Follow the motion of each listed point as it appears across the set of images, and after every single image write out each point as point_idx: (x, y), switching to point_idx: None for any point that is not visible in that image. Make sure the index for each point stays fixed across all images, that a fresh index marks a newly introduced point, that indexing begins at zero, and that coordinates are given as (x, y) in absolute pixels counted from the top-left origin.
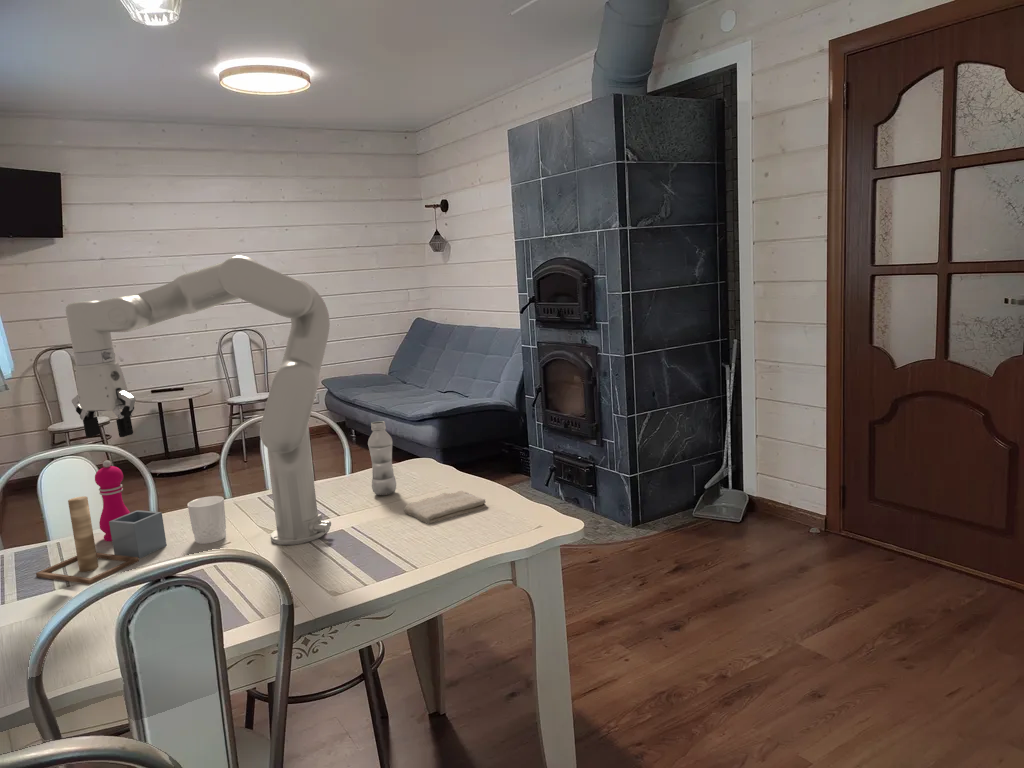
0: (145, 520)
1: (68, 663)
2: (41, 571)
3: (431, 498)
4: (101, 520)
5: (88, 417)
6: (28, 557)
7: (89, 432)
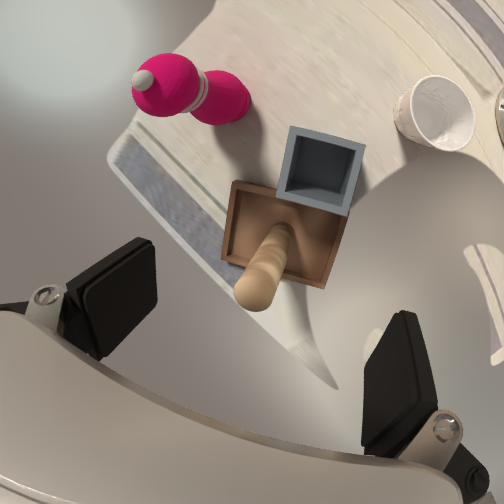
0: (354, 188)
1: None
2: (224, 255)
3: None
4: (200, 120)
5: (86, 348)
6: (143, 177)
7: (145, 311)
